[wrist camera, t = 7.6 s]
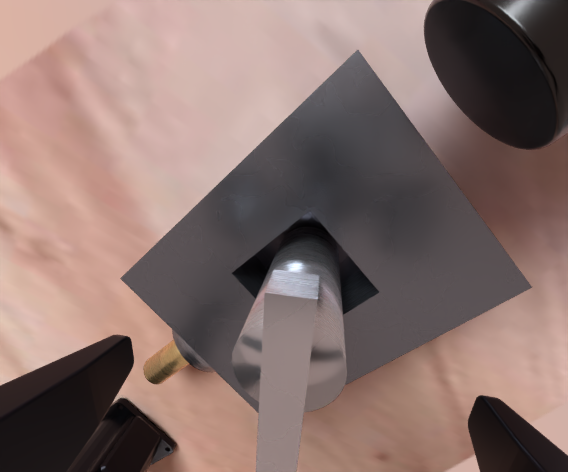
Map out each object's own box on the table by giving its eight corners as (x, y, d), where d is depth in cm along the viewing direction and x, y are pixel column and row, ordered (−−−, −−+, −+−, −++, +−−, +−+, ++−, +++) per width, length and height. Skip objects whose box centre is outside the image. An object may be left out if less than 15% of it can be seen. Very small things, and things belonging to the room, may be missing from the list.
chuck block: (225, 393, 22) (198, 461, 18) (120, 291, 21) (59, 337, 16) (473, 242, 16) (532, 287, 11) (349, 77, 14) (358, 49, 10)
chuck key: (331, 307, 16) (332, 496, 8) (275, 299, 17) (218, 472, 8) (346, 203, 14) (370, 307, 6) (282, 197, 15) (216, 286, 6)
